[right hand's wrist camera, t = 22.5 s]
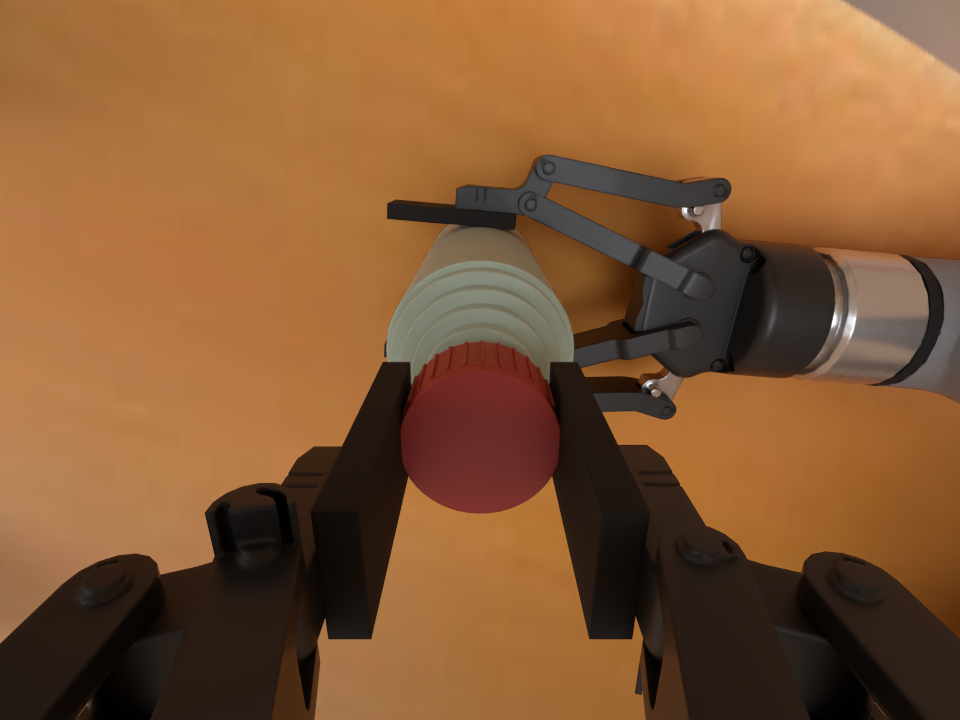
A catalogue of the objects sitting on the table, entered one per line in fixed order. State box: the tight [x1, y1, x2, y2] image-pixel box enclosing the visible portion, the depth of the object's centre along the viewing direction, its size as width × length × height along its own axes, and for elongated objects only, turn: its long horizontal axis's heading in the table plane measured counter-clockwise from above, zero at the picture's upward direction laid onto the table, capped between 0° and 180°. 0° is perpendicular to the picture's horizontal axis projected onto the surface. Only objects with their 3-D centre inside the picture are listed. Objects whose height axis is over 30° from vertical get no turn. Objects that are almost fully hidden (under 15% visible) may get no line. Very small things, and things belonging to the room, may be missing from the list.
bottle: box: [386, 224, 574, 385], centre depth 24 cm, size 7×7×23 cm
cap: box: [400, 340, 560, 513], centre depth 14 cm, size 4×4×2 cm
